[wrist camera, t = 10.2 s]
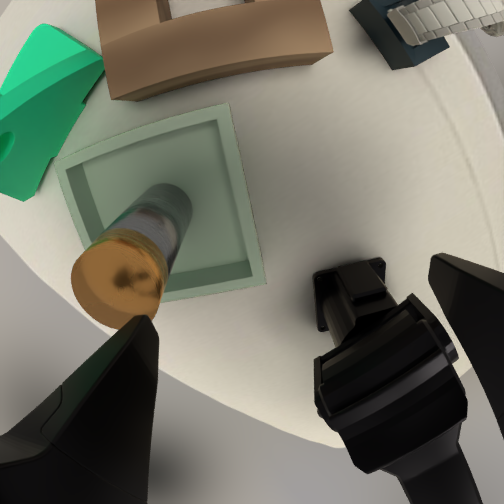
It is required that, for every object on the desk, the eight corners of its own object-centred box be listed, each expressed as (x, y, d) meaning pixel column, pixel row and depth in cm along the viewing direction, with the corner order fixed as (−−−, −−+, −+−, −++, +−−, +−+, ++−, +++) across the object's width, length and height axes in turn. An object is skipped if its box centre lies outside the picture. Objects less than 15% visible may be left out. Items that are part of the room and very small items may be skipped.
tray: (262, 262, 22) (266, 283, 20) (125, 288, 23) (114, 309, 20) (229, 104, 17) (228, 102, 14) (74, 154, 17) (53, 162, 15)
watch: (439, 44, 14) (541, 35, 4) (376, 79, 16) (487, 71, 6) (401, -12, 12) (490, -51, 2) (330, 17, 14) (412, -46, 4)
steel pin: (184, 177, 18) (136, 239, 9) (199, 230, 20) (172, 325, 11) (131, 191, 19) (56, 259, 10) (148, 241, 20) (96, 333, 11)
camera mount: (58, 26, 12) (-29, 3, 3) (116, 64, 15) (26, 40, 6) (-6, 146, 16) (-87, 180, 7) (41, 191, 19) (-42, 246, 9)
